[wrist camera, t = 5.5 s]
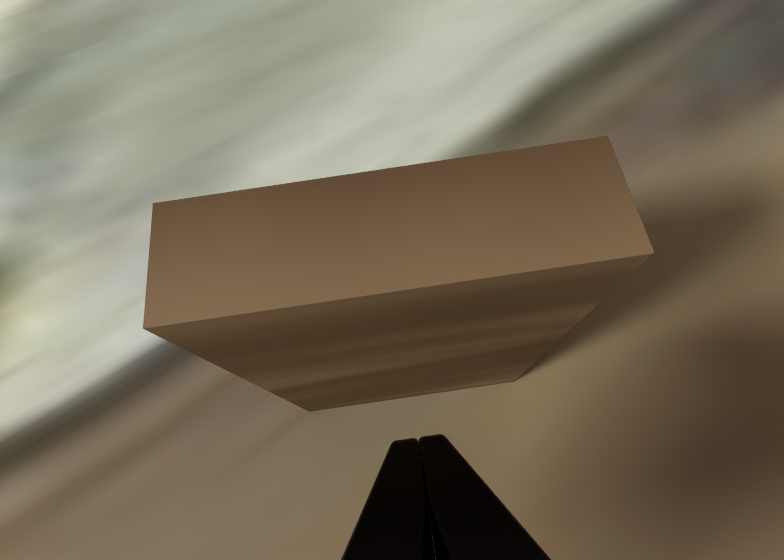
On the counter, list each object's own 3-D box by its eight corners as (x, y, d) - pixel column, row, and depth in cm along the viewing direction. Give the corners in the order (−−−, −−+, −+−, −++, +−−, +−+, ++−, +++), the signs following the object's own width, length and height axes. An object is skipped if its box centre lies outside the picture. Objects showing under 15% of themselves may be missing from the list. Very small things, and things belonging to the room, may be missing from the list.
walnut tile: (514, 381, 15) (654, 253, 6) (309, 411, 15) (142, 328, 6) (500, 323, 16) (606, 133, 7) (305, 352, 16) (153, 200, 7)
